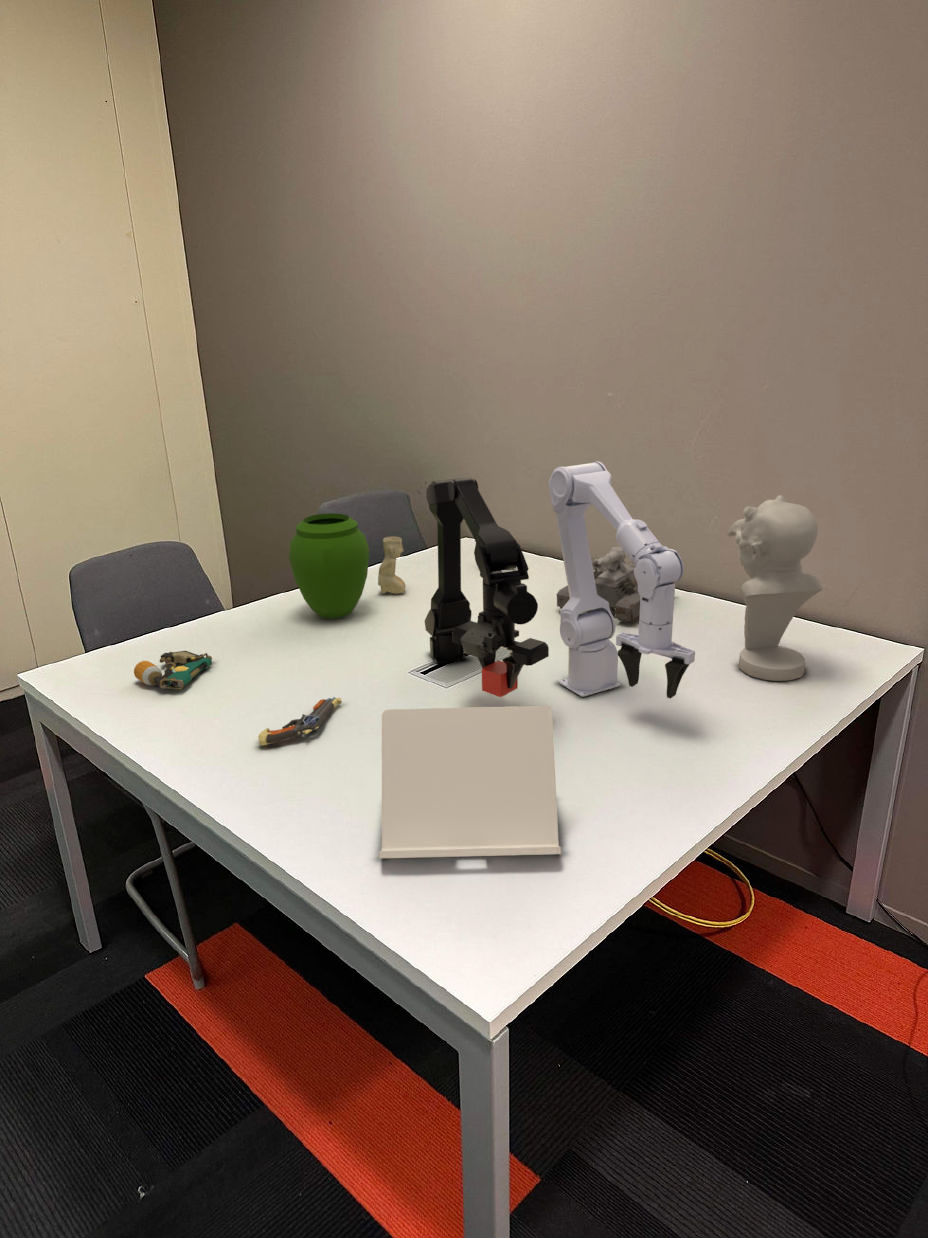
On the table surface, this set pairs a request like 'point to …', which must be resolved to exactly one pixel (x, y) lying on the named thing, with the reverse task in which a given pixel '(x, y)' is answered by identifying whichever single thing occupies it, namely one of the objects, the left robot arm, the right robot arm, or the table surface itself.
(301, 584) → the vase
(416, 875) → the table surface
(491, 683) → the brick
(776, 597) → the bust sculpture
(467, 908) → the table surface
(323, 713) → the toy gun
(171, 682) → the spray gun
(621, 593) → the toy
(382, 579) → the sculpture
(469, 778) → the tablet stand
